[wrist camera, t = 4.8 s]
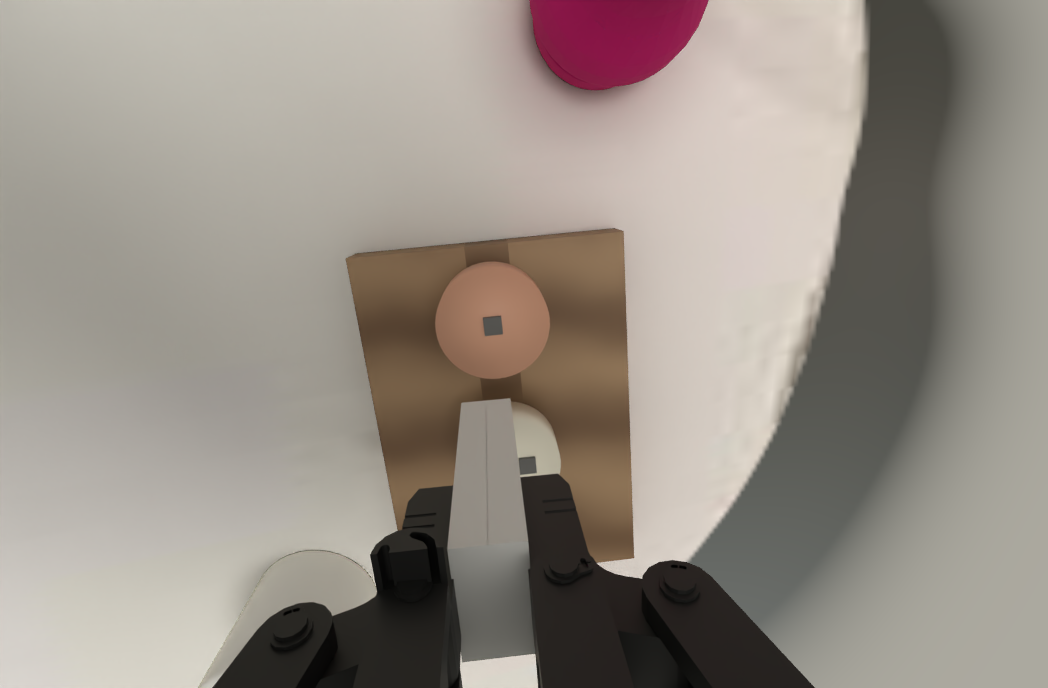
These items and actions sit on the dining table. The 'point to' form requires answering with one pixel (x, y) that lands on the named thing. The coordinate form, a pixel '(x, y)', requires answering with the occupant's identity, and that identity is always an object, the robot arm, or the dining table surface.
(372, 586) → the pill bottle
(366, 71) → the dining table surface
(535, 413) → the button
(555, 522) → the robot arm
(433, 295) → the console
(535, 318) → the button
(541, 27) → the pepper mill
